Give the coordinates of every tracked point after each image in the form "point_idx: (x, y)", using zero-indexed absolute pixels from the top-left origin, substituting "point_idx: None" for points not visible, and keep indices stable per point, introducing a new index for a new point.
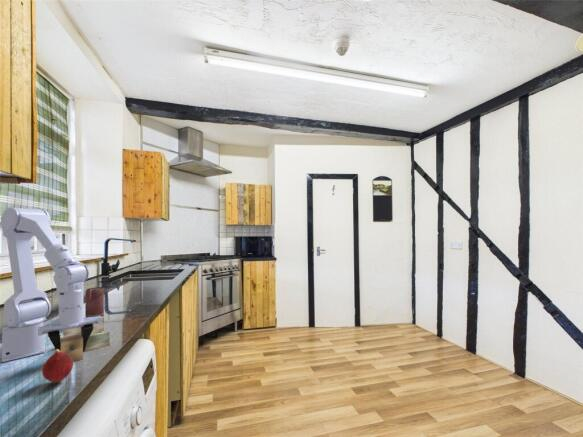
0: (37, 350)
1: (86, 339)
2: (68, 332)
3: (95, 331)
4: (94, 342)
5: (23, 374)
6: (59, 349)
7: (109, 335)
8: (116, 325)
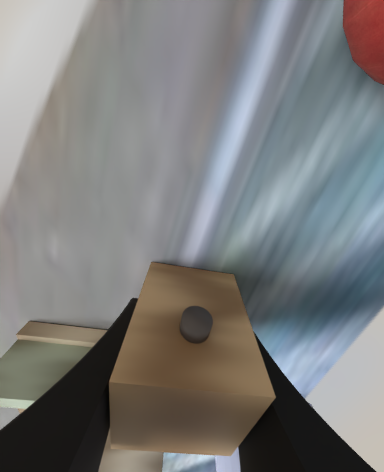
0: None
1: (91, 362)
2: (145, 467)
3: None
4: (75, 357)
5: (344, 293)
6: None
7: None
8: None
